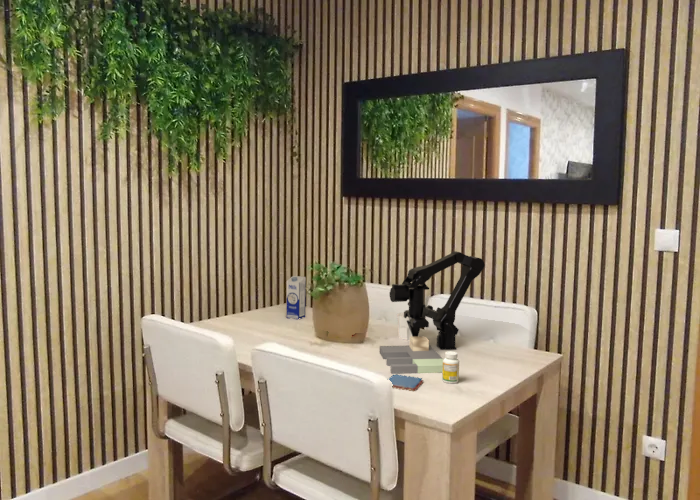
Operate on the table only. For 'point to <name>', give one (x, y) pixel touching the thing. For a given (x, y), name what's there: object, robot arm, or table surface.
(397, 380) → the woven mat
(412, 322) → the robot arm
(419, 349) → the maple block
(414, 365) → the board
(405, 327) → the cup
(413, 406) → the table surface
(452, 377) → the supplement bottle
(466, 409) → the table surface
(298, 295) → the milk carton
